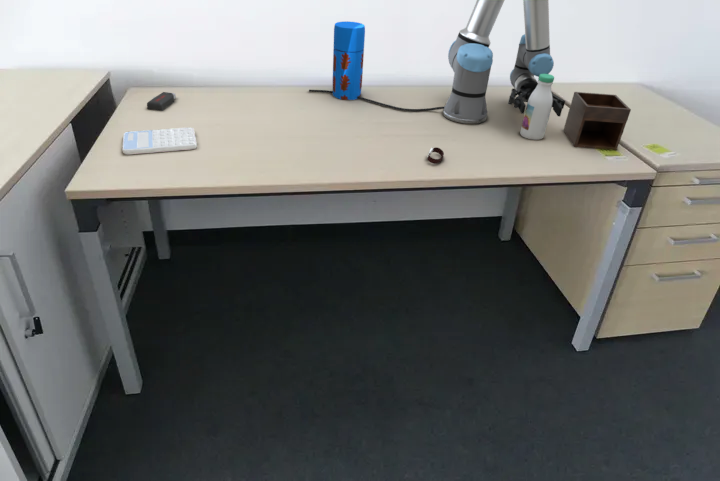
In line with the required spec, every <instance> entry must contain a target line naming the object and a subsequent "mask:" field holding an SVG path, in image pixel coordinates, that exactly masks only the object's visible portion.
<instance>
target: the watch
mask: <svg viewBox="0 0 720 481" xmlns="http://www.w3.org/2000/svg"><path fill="white" fill-rule="evenodd" d="M432 153H436V154H438V155H439V156H440V158H433V157H432V156H431V155H432ZM444 155H445V153H444V151H443V149H441V148H440V147H433V146H432V147H431V148H430V149H429V151H428V154H427V155H426V158H427V159H426V160H427V161H428V162H429V163H431V164H432V165H433V164H434V165H436V164H439V163H441V162H442V161H443V159H444Z"/></svg>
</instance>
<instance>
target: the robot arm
mask: <svg viewBox="0 0 720 481" xmlns="http://www.w3.org/2000/svg"><path fill="white" fill-rule="evenodd" d="M504 2H505V0H476V1H475V4H474V6H473V9H472V12H471V14H470V16H469V19H468V21H467V24H466V26H465V27H464V28H463V29H460V30H459V32H458V34H457V36H456V39H455V40H454V41H453V42H452V43H451V45H450V47H449V49H448V54H447V57H448V63H449V66H450V67H451V69H452V71H453V73H454V74H453V81H452V87H451V92H450V95H449V97H448V99H447V100H446V102H445V105H444V106H435V107H429V108H404V107H400V106H399V107H398V106H395V105H391V104H387V103H382V102H380V101H377V100H373V99H369V98H367V97H363V96H357V98H358V99H357V100H362V101H366V102H369V103H372V104H376V105H379V106H382V107H386V108H390V109H394V110H397V111H404V112H427V111H430V112H431V111H437V110H443V111H442V115H443V117H444V118H446V119H447V120H449V121H452V122H454V123H459V124H465V125H479V124H482V123H484V122H486V120H487V119H488V107H487V100H486V96H487V91H488V86H489V79H490V74H491V70H492V65H493V61H494V59H493V58H494V53H493V50H491V48H490V46H491V40H490V35H491V32H492V30H493V28H494V25H495V23H496V21H497V20H498V16H499V14H500V13H501V9H502V7H503V6H504ZM522 2H523V3H522V5H523V19H524V20H523V22H524V34H522V35H521V37H520V40H519V43H518V48H517V52H516V58H515V64H514V67H513V69H511V72H510V73H509V81H510V83H511V86H512V87H513V88H511V91H510V95H509V98H508V103H507V104H508V105H509V106H511V105H513V108H514V109H518V110H519V112H520V113H521V114H523V115H524V114H525V110H526V106H527V104H526V103H528V100H529V97H530V95H531V94H532V92H533V91H534V90H535V88H536V87H537V85H538V80H537V79H536V78H535V77H538V78H539V75H540V74H550V73H551V72H552V71H553V69H554V59H553V56H552V55H551V42H550V41H551V40H550V14H549V13H550V11H549V10H550V8H549V7H550V6H549V0H522ZM308 92H309V93H326V94H327V93H328V94H333V90H326V89H308ZM552 98H553V102H552V110H553V112H554V113H555V115H556V116H557V117H561V115H562V111H563V109H564V107H565V104H566V100H565V99H563V98H561V97H560V96H558V95H556V94H555V93H553V92H552Z"/></svg>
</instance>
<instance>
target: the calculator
mask: <svg viewBox="0 0 720 481" xmlns="http://www.w3.org/2000/svg"><path fill="white" fill-rule="evenodd" d="M197 146H198V143H197V138H196V133H195V128H194V127H190V126H189V127H175V128H160V129H145V130H144V129H143V130H132V131H125V132H123V137H122V149H121V150H122V152H123V154H124V155H138V154H139V155H140V154H152V153H164V152H178V151H189V150H190V151H191V150H196V148H197Z"/></svg>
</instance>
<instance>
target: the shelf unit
mask: <svg viewBox="0 0 720 481" xmlns="http://www.w3.org/2000/svg"><path fill="white" fill-rule="evenodd" d="M568 109H569V110H568V112H567V116H566V119H565V123H564V126H563V130H562V131H563V132H564V134H565V135H566V137H567V138H568V140H569V141H570V143H571V144H572V146H573V147H574V148H585V149H597V150H611V151H617V150H618V147H619V144H620V141H621V138H622V136H623V133H624V130H625V127H626V125H627V123H628V119H629V116H630V114H631V111H632V109H631V108H630V107H629V106H628V105H627V104H626V103H625V102H624V101H623V100H622V99H621V98H620V97H619V95H617V94H610V93H606V94H605V93H597V92H596V93H595V92H582V91H581V92H580V91H573V95H572V99H571V103H570V106H569V108H568Z"/></svg>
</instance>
